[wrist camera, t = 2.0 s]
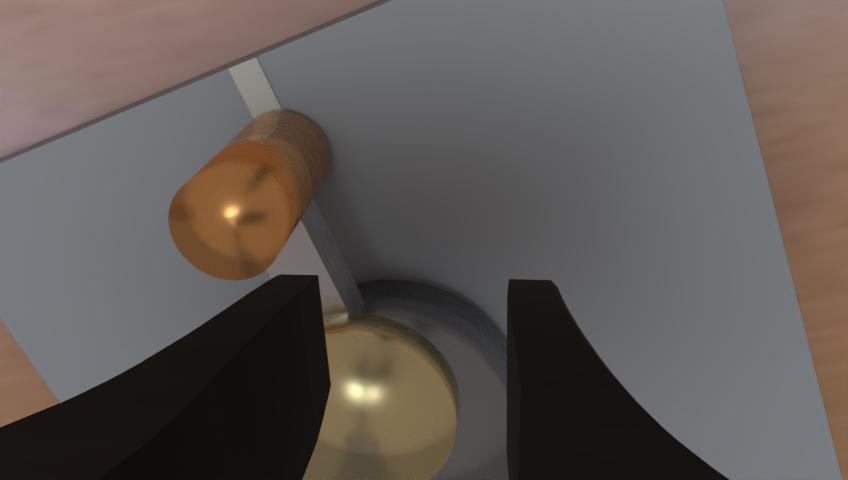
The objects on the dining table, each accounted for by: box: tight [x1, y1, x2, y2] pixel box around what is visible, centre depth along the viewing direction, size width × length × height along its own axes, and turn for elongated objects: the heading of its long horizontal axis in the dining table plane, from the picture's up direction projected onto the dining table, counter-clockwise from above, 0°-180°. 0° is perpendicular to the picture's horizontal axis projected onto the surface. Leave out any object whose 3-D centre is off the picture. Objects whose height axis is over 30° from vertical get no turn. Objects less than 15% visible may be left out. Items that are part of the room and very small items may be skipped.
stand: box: [0, 0, 842, 480], centre depth 23 cm, size 20×22×1 cm
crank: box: [168, 110, 509, 480], centre depth 20 cm, size 12×7×4 cm, turn 22°
